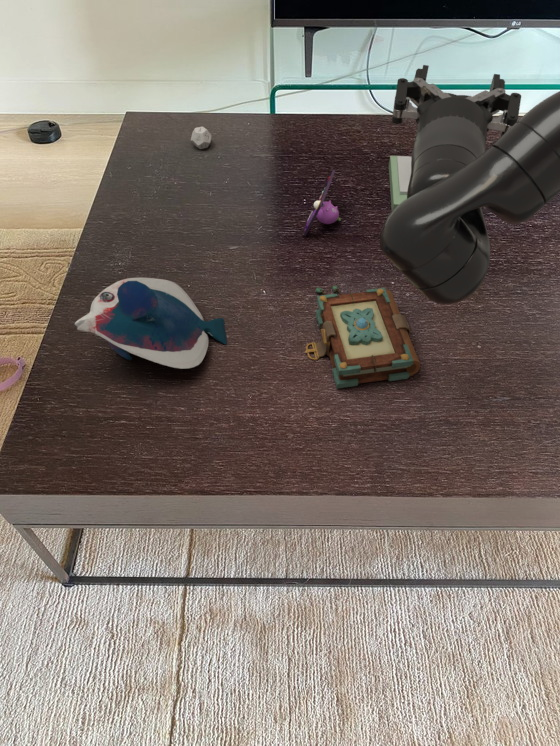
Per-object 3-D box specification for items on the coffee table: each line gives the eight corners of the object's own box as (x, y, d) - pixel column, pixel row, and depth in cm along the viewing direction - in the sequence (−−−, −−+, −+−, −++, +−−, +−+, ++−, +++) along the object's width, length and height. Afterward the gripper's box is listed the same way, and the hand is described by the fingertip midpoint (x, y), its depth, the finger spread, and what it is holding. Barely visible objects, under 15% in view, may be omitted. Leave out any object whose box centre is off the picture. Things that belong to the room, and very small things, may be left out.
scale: (465, 169, 105) (469, 155, 103) (475, 218, 97) (479, 204, 95) (388, 165, 105) (390, 152, 103) (391, 214, 98) (394, 200, 96)
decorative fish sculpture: (88, 314, 65) (88, 221, 74) (61, 384, 73) (64, 293, 82) (254, 346, 74) (237, 260, 83) (214, 404, 82) (202, 320, 91)
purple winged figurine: (329, 166, 94) (314, 202, 89) (359, 181, 94) (347, 218, 89) (312, 198, 99) (298, 234, 94) (341, 213, 100) (329, 249, 95)
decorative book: (381, 282, 88) (386, 255, 84) (419, 379, 78) (427, 354, 74) (289, 293, 87) (290, 266, 83) (315, 394, 76) (318, 369, 72)
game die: (214, 141, 110) (213, 125, 107) (208, 152, 107) (207, 137, 105) (195, 138, 110) (193, 122, 108) (189, 150, 108) (187, 134, 106)
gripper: (528, 127, 63) (528, 52, 72) (388, 108, 65) (406, 38, 74) (506, 190, 69) (509, 113, 78) (378, 170, 71) (396, 98, 80)
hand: (459, 77), depth 76 cm, fingers open, 8 cm apart
